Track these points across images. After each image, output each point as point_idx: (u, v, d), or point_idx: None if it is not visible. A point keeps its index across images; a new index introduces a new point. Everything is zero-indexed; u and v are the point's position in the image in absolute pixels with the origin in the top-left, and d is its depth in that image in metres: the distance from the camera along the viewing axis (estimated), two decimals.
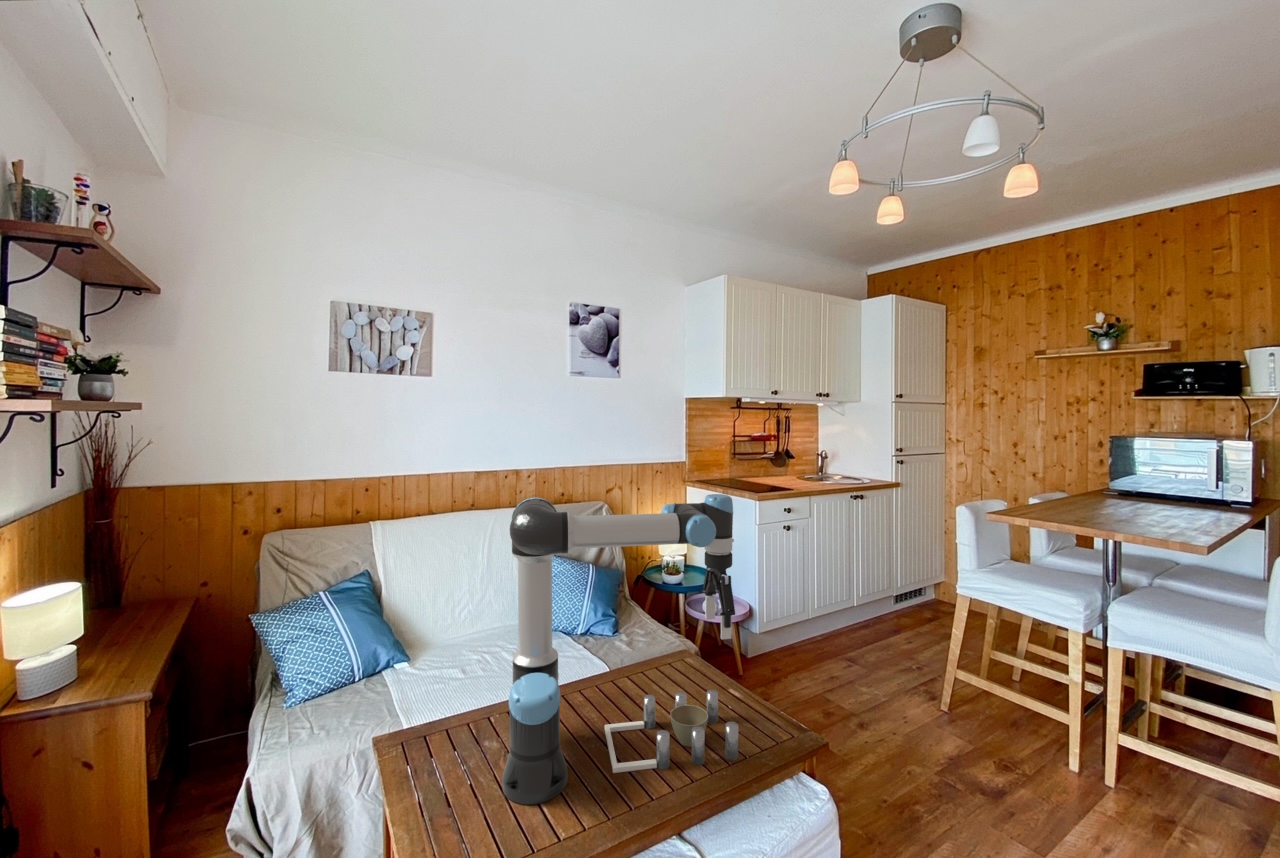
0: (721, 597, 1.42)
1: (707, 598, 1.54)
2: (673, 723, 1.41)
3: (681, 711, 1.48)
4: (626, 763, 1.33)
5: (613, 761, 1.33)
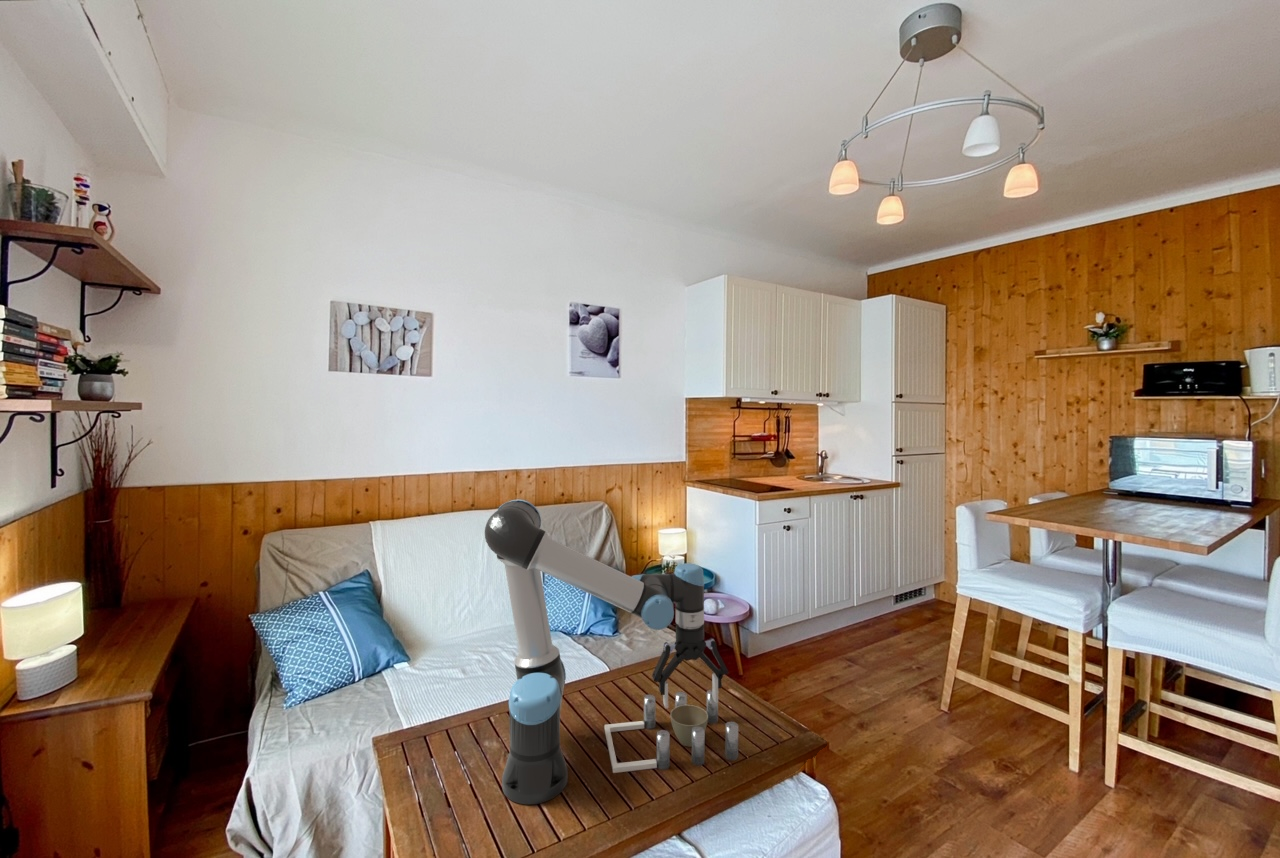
0: (668, 664, 1.43)
1: (712, 676, 1.45)
2: (673, 723, 1.41)
3: (681, 711, 1.48)
4: (626, 763, 1.33)
5: (613, 761, 1.33)
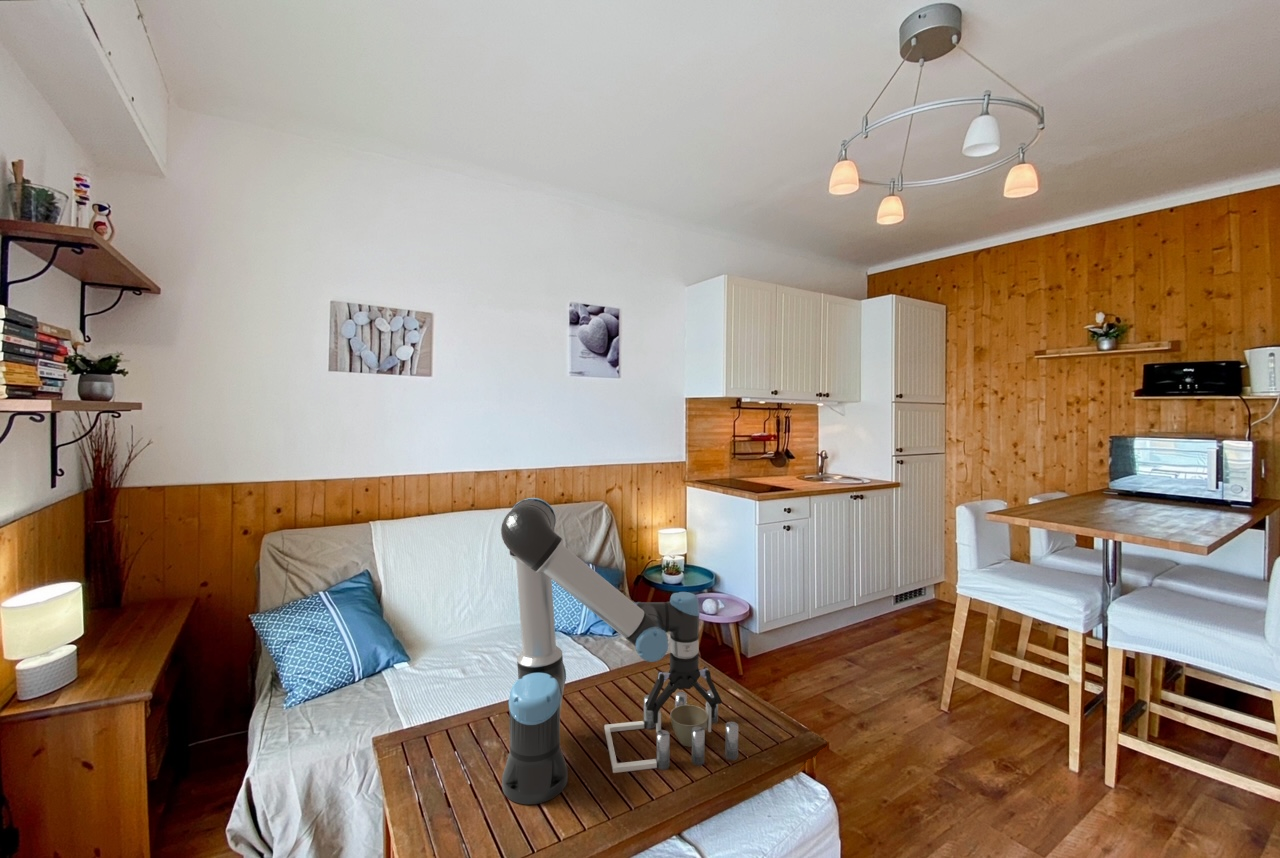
0: (662, 692, 1.43)
1: (706, 705, 1.45)
2: (673, 723, 1.41)
3: (681, 711, 1.48)
4: (626, 763, 1.33)
5: (613, 761, 1.33)
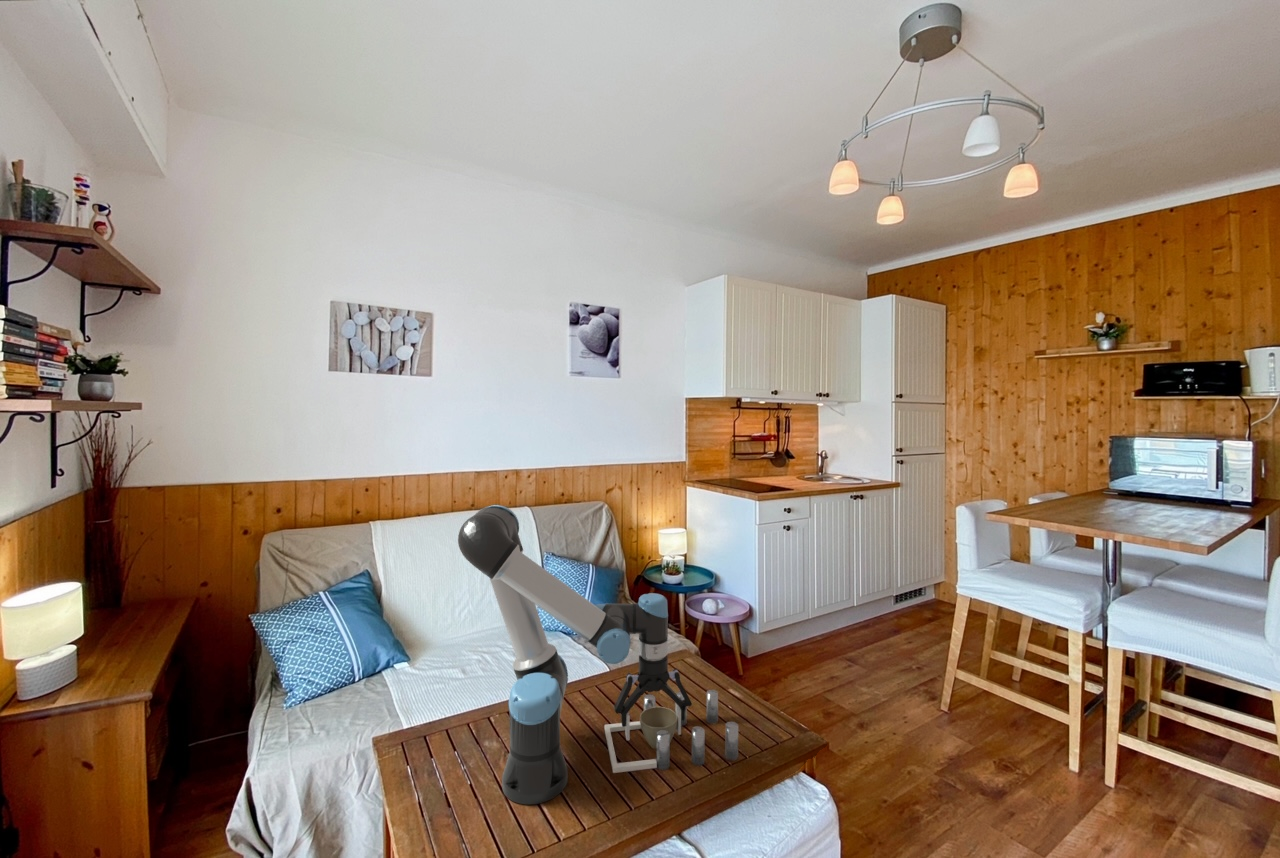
0: (631, 695, 1.41)
1: (676, 707, 1.44)
2: (641, 725, 1.40)
3: (652, 713, 1.47)
4: (626, 763, 1.33)
5: (613, 761, 1.33)
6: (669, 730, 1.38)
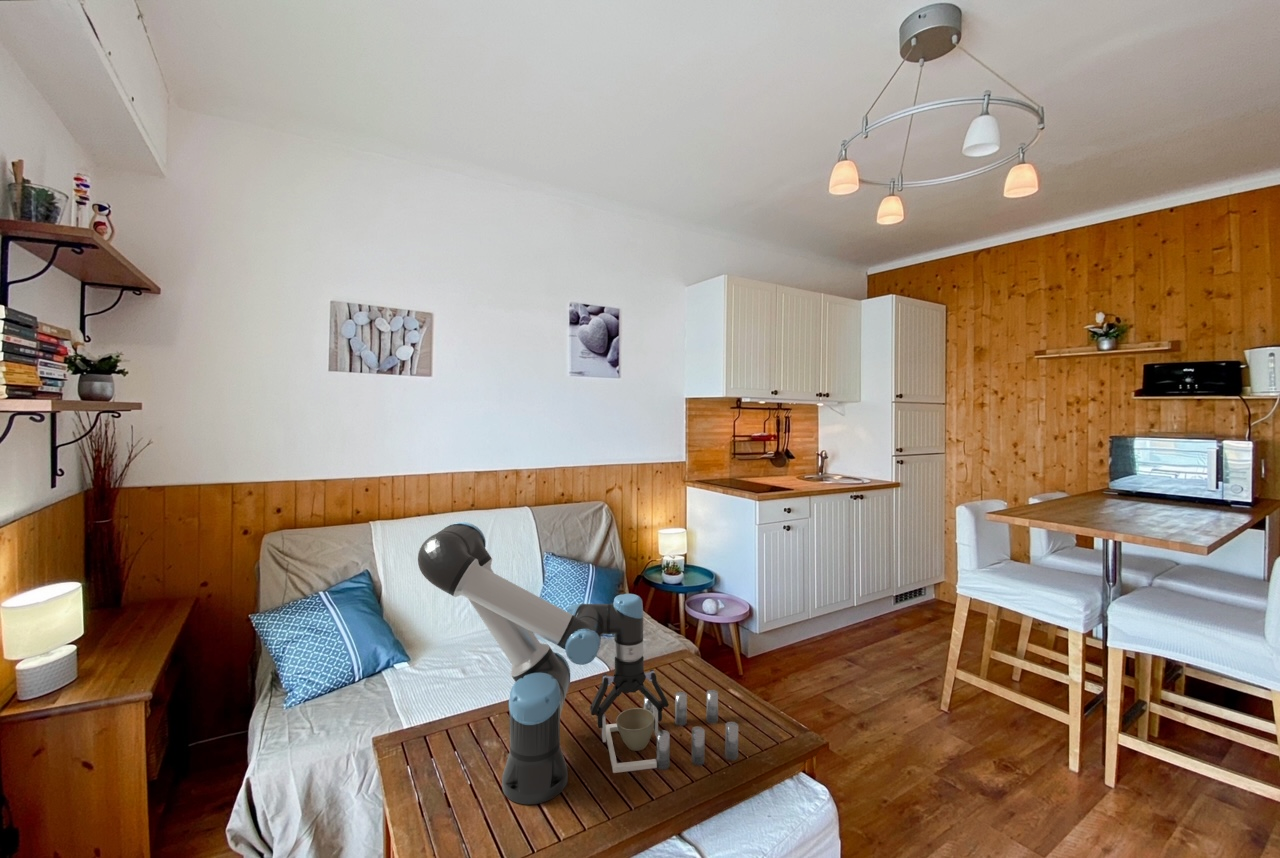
0: (607, 696, 1.40)
1: (653, 708, 1.43)
2: (618, 727, 1.39)
3: (631, 714, 1.46)
4: (626, 763, 1.33)
5: (613, 761, 1.33)
6: (645, 732, 1.37)
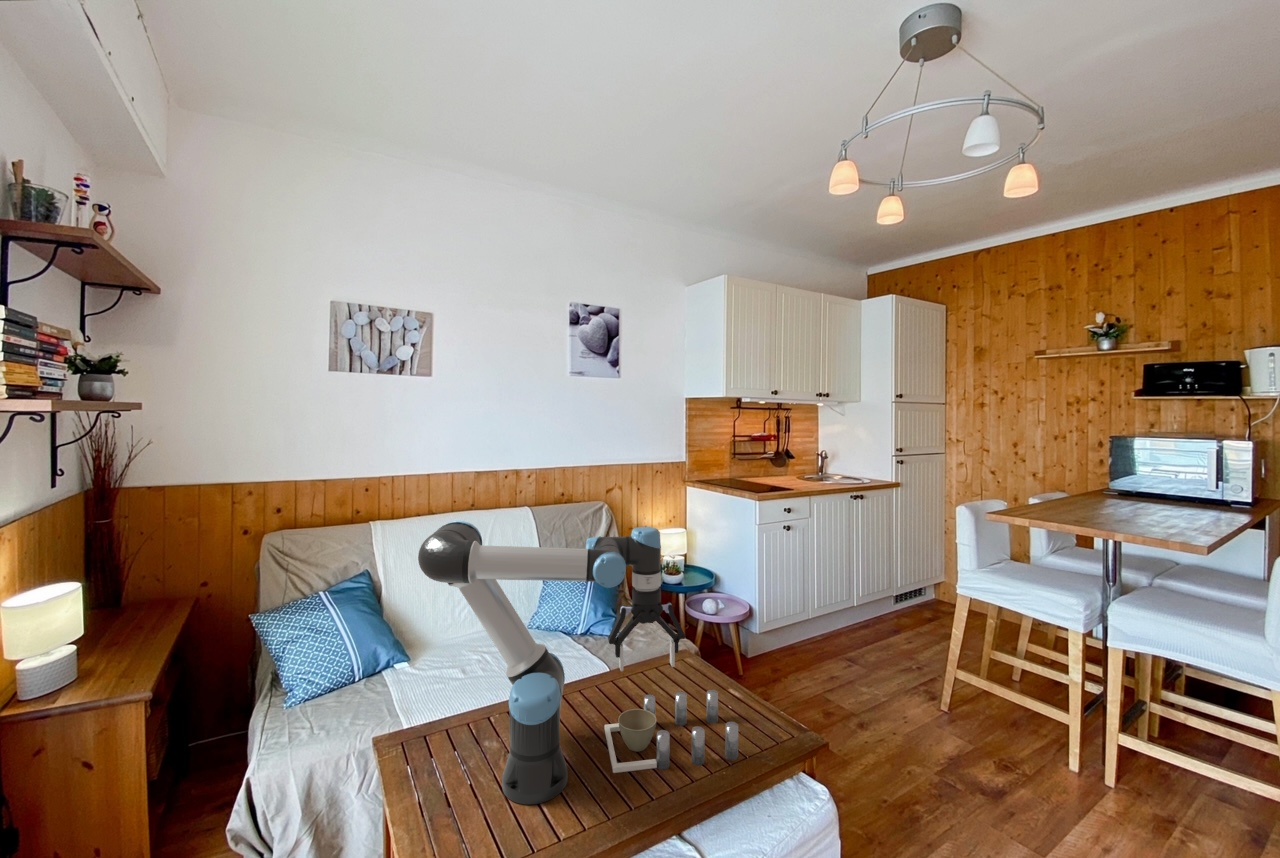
0: (625, 627, 1.42)
1: (670, 640, 1.44)
2: (619, 727, 1.40)
3: (632, 715, 1.46)
4: (626, 763, 1.33)
5: (613, 761, 1.33)
6: (646, 733, 1.37)
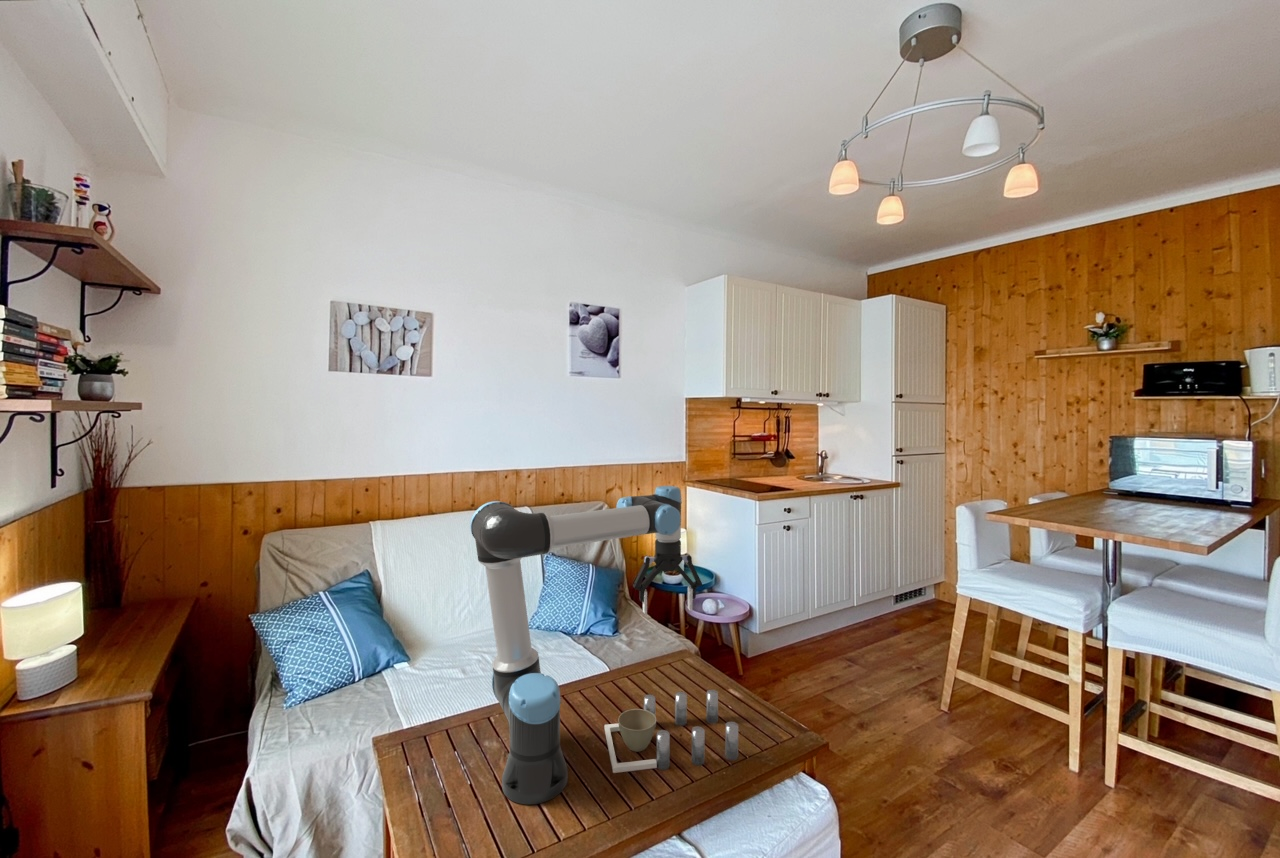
0: (648, 575, 1.58)
1: (688, 588, 1.61)
2: (619, 727, 1.40)
3: (632, 715, 1.46)
4: (626, 763, 1.33)
5: (613, 761, 1.33)
6: (646, 733, 1.37)
